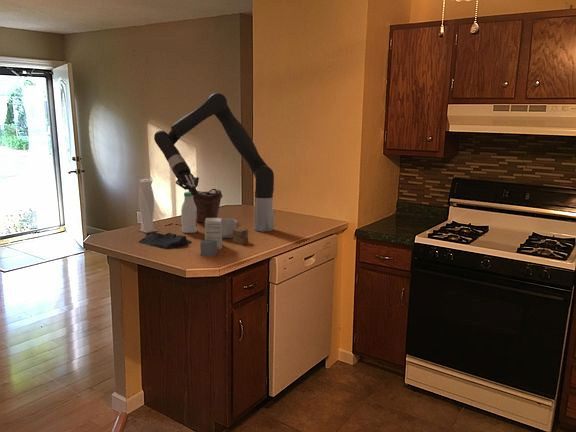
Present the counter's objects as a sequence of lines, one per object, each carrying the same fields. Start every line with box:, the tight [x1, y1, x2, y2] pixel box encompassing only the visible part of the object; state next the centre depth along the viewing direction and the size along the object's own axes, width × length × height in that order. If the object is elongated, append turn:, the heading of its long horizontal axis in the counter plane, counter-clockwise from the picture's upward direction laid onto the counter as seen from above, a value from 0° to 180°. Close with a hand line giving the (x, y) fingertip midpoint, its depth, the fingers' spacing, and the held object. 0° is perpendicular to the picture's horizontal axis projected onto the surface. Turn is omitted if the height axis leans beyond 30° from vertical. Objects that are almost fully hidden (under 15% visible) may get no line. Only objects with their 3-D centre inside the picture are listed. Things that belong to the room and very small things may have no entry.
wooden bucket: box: [188, 188, 223, 223], centre depth 278 cm, size 18×20×18 cm
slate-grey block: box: [199, 239, 218, 258], centre depth 212 cm, size 5×5×6 cm
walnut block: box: [232, 227, 249, 245], centre depth 233 cm, size 5×5×6 cm
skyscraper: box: [138, 175, 159, 234], centre depth 248 cm, size 8×8×28 cm
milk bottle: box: [180, 191, 198, 234], centre depth 250 cm, size 8×8×20 cm
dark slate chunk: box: [138, 232, 192, 250], centre depth 230 cm, size 15×22×5 cm
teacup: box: [222, 218, 238, 239], centre depth 243 cm, size 14×11×8 cm
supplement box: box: [204, 217, 223, 250], centre depth 224 cm, size 7×7×13 cm
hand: (196, 195), depth 230 cm, fingers closed
